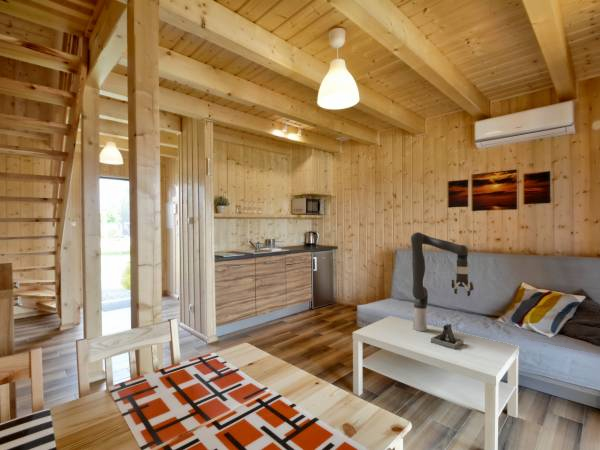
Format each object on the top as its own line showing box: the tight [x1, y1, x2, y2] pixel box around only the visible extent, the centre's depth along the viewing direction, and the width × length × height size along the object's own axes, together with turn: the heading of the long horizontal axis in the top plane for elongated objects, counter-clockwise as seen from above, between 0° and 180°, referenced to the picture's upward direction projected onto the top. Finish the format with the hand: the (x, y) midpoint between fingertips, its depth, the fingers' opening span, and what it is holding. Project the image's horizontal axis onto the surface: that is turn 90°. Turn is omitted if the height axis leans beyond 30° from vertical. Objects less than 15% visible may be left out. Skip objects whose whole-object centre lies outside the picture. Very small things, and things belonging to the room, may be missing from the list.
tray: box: [430, 333, 464, 350], centre depth 213 cm, size 16×14×3 cm
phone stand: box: [440, 323, 456, 344], centre depth 213 cm, size 9×6×12 cm, turn 42°
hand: (462, 295), depth 225 cm, fingers open, 8 cm apart
